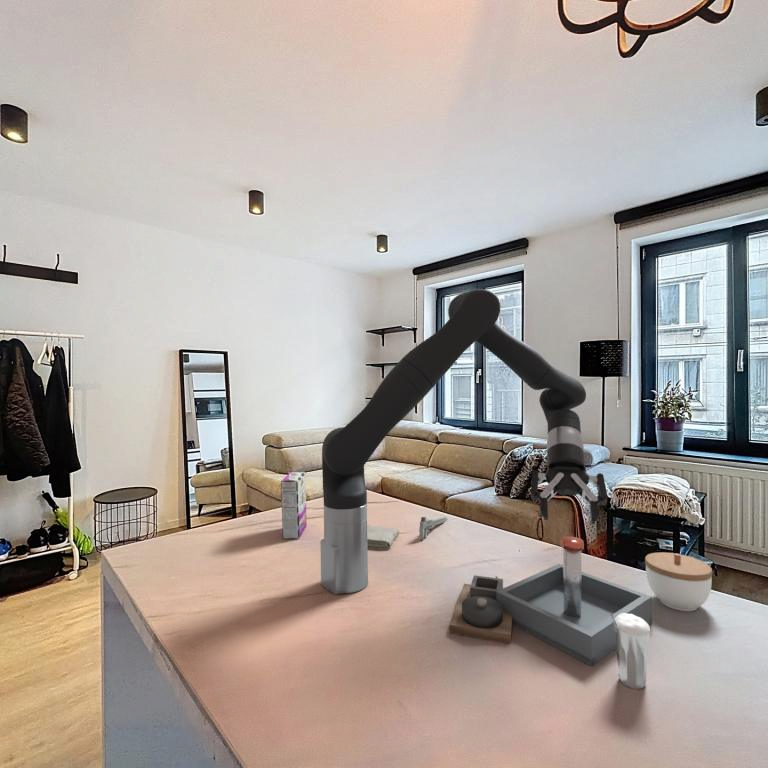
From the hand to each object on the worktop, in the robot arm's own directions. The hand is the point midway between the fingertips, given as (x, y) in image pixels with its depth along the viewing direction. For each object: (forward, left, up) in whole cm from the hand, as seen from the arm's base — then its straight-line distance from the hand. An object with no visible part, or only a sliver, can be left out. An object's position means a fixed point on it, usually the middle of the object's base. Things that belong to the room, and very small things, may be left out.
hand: (569, 520), depth 86 cm
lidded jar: (+15, -13, -16) cm, 26 cm away
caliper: (+7, +47, -16) cm, 50 cm away
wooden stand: (-17, +7, -16) cm, 24 cm away
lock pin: (-6, -4, -15) cm, 16 cm away
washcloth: (-13, +53, -16) cm, 57 cm away
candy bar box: (-26, +70, -16) cm, 76 cm away
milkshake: (-15, -18, -16) cm, 28 cm away
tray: (-6, -4, -16) cm, 17 cm away
